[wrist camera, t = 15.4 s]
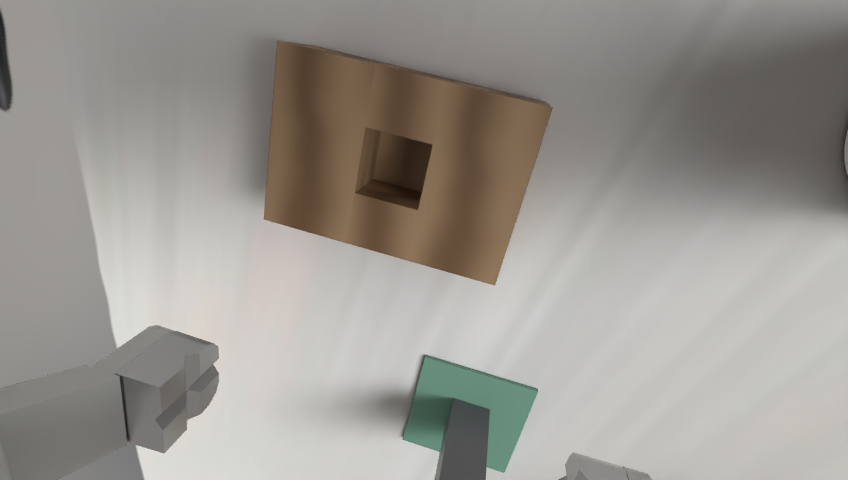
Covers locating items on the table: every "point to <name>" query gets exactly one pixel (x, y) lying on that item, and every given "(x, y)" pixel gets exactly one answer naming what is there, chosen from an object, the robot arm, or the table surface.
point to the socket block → (399, 159)
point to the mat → (476, 388)
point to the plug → (464, 443)
